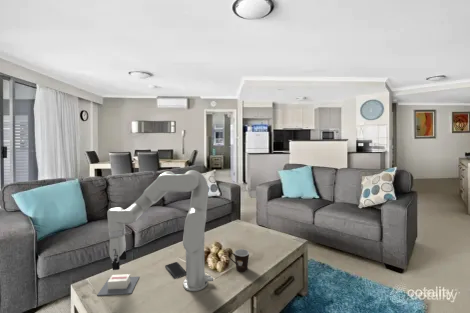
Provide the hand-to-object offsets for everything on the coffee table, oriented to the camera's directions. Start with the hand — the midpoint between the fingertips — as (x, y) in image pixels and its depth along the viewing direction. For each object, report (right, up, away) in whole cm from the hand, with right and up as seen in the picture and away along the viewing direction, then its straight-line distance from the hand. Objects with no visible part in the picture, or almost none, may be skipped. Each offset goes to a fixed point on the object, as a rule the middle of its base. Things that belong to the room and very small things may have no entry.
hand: (119, 264), depth 127 cm
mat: (-1, -12, +1) cm, 12 cm away
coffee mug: (+62, -10, +18) cm, 65 cm away
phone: (+25, -11, +16) cm, 31 cm away
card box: (-1, -11, +1) cm, 11 cm away
